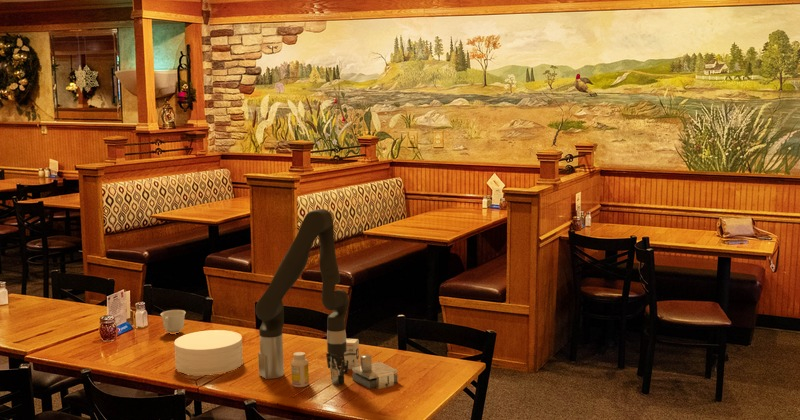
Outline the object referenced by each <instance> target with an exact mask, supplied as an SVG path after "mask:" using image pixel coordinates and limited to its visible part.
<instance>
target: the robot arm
mask: <svg viewBox="0 0 800 420" xmlns="http://www.w3.org/2000/svg"><path fill="white" fill-rule="evenodd" d="M334 228H335V227H334V218H333V215H332V213H331V212H330V211H329V210H327V209H325V208H320V209H312V210H310V211H309V212H307V213H306V214H305V216H304V218H303V221H302V222H301V224H300V227H299V229H298V232H297V234H296V236H295V238H294V239H293V241H292V243H291V244H290V246H289V248H288V250H287V252H286V253H285V254H284V257H283V258H282V260H281V262H280V263H279V265H278V267H277V269H276V271H275V273H274V275H273V277H272V280H271V281H270V284H269V285H268V287H267V289H266V290H264V293H263V294H262V296H261V297H260V298H259V300H258V301H257V302H256V305H255V315H256V316H257V318H258V319H259V320H261V321H262V322H261V323H260V326H259V331H258V334H259V352H258V353H257V354H258V376H259V377H261V376H262V377H261V378H262V379H264V378H265V380H271V379H273V380H274V379H278V378H279V379H280V378H282V377H284V374H285V369H284V368H285V367H284V346H283V345H284V342H283V330H284V329H283V328H284V324H285V322H284V321H285V314H284V313H285V311H284V302H283V299H284V297H285V296H286V294H287V293H288V291H290V289H291V288H292V287H293V285H294V284H295V283H296V282H297V281H298V279H299V278H300V277H301V275H302V273H303V271H304V270H305V268H306V267H307V265H308V261H309V256H310V251H311V247H312V245H313V244H314V242H315V240H316V239H317V237H318V239H319V248H320V249H319V250H320V251H319V260H318V261H319V264H318V265H319V271H320V276H321V280H322V286H321V302H322V305H323V306H324V308H325V309H326V310H328V311H332V312H331V313H330V314H329V315H328V316H327V319H326V321H327V324H326V325H327V330H326V343H327V344H326V346H327V347H326V349H327V353H325V356H326V363H327V369H329V371H330V372H331V373H330V374H331V377H330V378H331V380H332V368H333V367H336V369H337V370H338V383H339V384H341V385H343V384H345V375H347V374H348V370H349V369H348V360H345V359H344V353H345V352H346V339H347V333H346V316H347V313H348V308H349V303H350V302H349V300H350V299H349V296H348V292H346V291H345V290H344V289H337V290H336V286H337V285H338V284H339V283H340V282H341V277H340V275H341V274H340V271H339V267H338V261H337V255H336V245H335V236H334V235H335V234H334V233H335V232H334V231H335V230H334ZM338 366H341V367H338ZM340 369H341V372H340Z"/></svg>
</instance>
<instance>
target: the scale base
mask: <svg viewBox="0 0 800 420" xmlns="http://www.w3.org/2000/svg"><path fill="white" fill-rule="evenodd" d="M351 373H352V374H351V375H352V381H353V382H355V383H358V384H360V385H361V386H363V387H365V388H367V389H368V390H373V389H378V390H380V389H386V388H389V387H394V386H395V384H397V383H398V382H399V381H398V374H397V373H393V372H388V373H384V374H380V375H376V378H373V379H368V378H366V377H364V376H362V375H360V374H358V373H356V372H354V371H353V372H351Z"/></svg>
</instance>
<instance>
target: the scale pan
mask: <svg viewBox="0 0 800 420" xmlns="http://www.w3.org/2000/svg"><path fill="white" fill-rule="evenodd" d="M352 372H353V373H354V372H356V373H358V374H360V375H362V376H364V377H366V378H368V379H373V378H376V375H380V374H384V373H388V372H393V373H394V374H397V373H398V369H396V368H395V367H392V366H391V365H388V364H385V363H384V362H381V361H376V362H372V371H371V372H369V373H363V372H361V368H360V365H359V366H358V367H354V368H352Z"/></svg>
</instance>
